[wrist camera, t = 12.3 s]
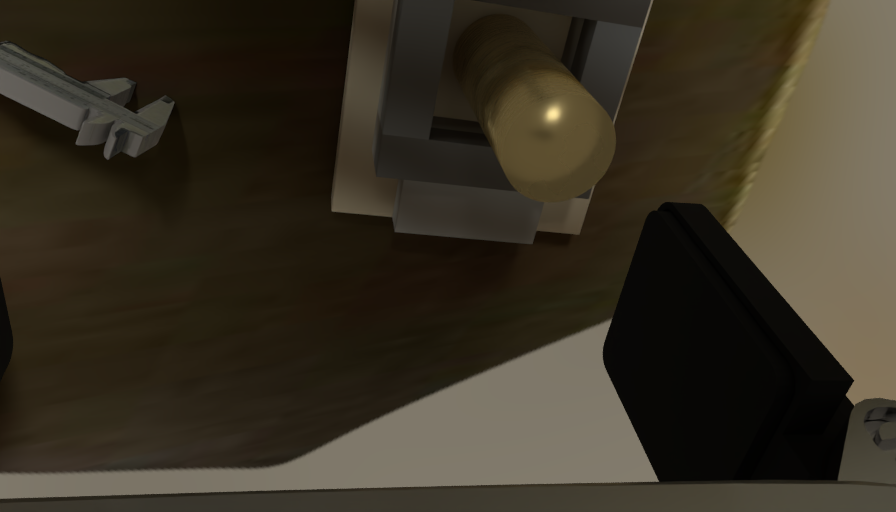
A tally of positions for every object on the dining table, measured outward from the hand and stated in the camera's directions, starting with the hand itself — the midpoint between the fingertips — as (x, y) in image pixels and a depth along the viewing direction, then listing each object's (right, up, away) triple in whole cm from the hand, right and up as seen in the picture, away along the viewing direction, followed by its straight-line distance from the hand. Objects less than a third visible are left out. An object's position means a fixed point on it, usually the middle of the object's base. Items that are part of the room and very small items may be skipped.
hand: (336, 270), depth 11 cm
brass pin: (+4, +9, +23) cm, 25 cm away
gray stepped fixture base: (+4, +10, +24) cm, 26 cm away
